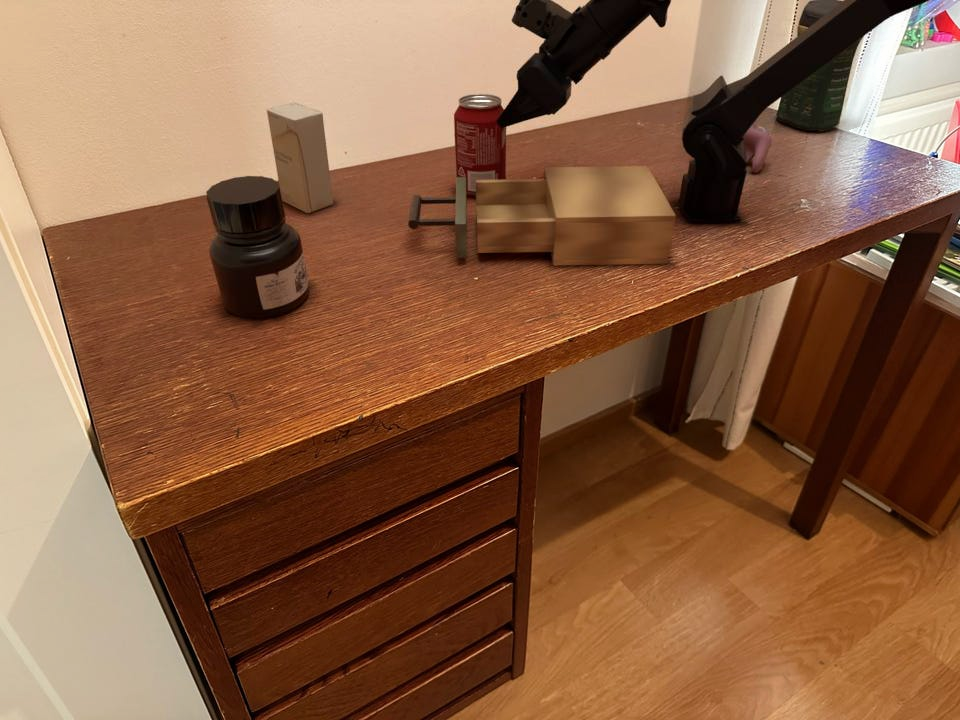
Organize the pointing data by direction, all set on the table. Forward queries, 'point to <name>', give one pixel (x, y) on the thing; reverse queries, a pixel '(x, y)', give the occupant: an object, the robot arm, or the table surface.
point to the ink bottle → (255, 248)
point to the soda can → (479, 140)
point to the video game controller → (757, 146)
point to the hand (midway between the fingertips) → (507, 113)
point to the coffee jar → (818, 82)
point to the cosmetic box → (301, 156)
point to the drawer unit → (609, 216)
